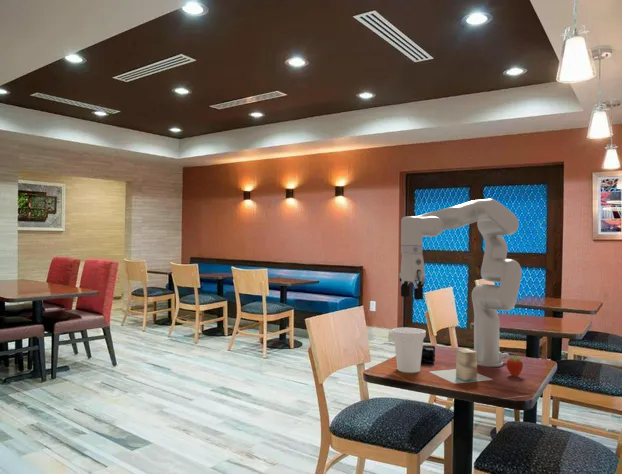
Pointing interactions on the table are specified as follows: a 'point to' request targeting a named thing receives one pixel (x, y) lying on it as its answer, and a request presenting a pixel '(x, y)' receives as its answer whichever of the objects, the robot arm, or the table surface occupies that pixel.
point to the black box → (428, 355)
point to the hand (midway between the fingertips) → (411, 297)
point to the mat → (451, 376)
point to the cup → (408, 348)
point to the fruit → (514, 366)
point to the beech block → (466, 365)
